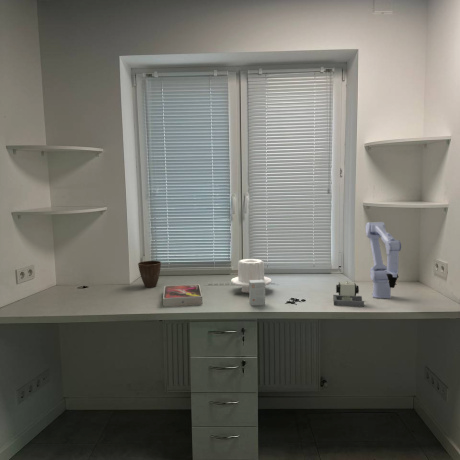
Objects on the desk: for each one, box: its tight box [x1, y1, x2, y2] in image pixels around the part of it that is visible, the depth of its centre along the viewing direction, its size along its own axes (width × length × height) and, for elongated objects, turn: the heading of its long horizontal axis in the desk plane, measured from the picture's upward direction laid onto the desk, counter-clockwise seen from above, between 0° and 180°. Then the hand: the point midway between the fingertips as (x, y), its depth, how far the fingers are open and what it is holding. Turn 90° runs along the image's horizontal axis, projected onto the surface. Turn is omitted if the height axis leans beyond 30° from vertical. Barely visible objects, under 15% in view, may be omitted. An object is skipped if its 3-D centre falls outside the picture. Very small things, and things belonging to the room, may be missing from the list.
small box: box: [248, 280, 266, 307], centre depth 213 cm, size 8×6×13 cm
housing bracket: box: [332, 294, 365, 308], centre depth 213 cm, size 16×12×2 cm
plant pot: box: [137, 260, 162, 289], centre depth 255 cm, size 15×15×16 cm
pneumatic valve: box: [335, 281, 360, 301], centre depth 213 cm, size 6×12×12 cm, turn 79°
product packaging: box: [162, 283, 203, 307], centre depth 227 cm, size 22×28×5 cm
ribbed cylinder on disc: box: [230, 258, 272, 294], centre depth 241 cm, size 25×25×19 cm
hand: (391, 287), depth 208 cm, fingers closed
